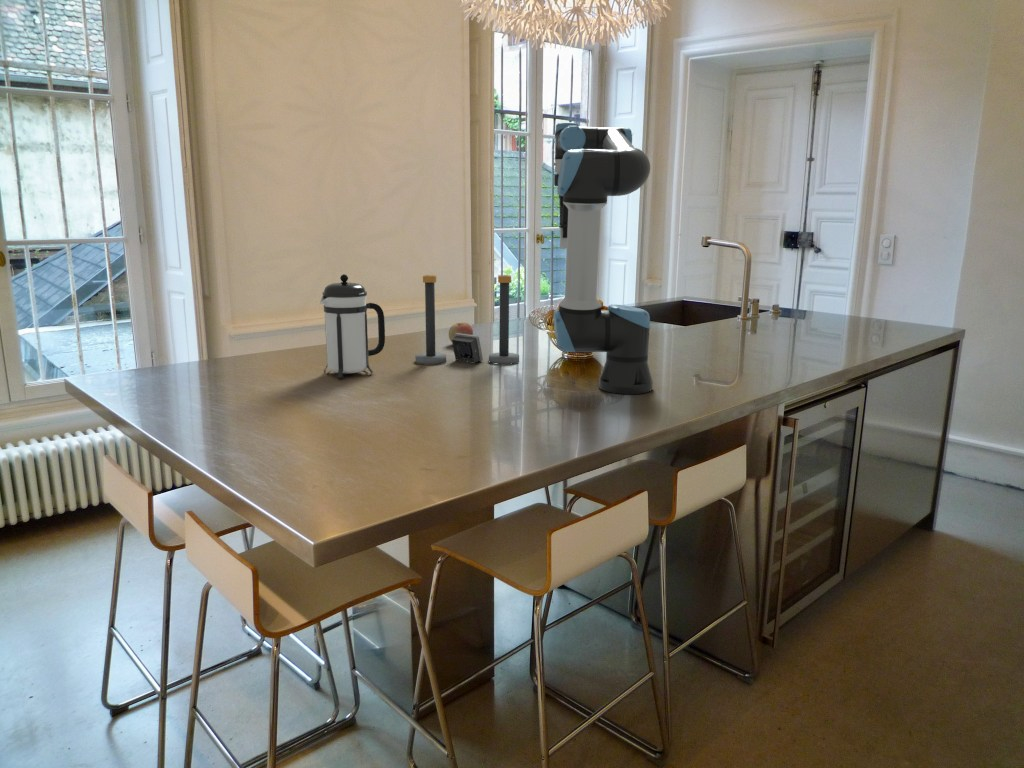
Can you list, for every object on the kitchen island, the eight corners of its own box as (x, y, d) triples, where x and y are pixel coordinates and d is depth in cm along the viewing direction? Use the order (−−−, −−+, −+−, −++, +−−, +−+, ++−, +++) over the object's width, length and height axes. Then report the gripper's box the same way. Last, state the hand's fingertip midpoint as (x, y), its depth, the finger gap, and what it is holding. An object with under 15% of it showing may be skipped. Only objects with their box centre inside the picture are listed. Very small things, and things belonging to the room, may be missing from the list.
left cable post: (445, 364, 243) (444, 277, 237) (414, 364, 243) (412, 277, 236) (446, 358, 253) (445, 274, 246) (416, 358, 253) (414, 273, 246)
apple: (474, 343, 280) (474, 321, 278) (470, 347, 271) (470, 325, 270) (451, 342, 281) (450, 321, 279) (446, 347, 272) (446, 325, 270)
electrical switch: (483, 362, 249) (481, 334, 246) (474, 366, 244) (472, 338, 242) (460, 358, 253) (458, 331, 251) (451, 362, 249) (449, 335, 246)
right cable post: (520, 364, 245) (521, 277, 238) (489, 364, 244) (489, 277, 238) (518, 358, 254) (519, 274, 248) (488, 358, 254) (488, 274, 247)
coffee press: (365, 381, 220) (361, 277, 213) (314, 378, 223) (308, 276, 216) (386, 368, 237) (383, 272, 230) (338, 366, 240) (334, 270, 233)
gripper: (552, 174, 250) (550, 246, 255) (556, 172, 237) (554, 249, 243) (575, 174, 250) (572, 246, 256) (580, 173, 237) (578, 249, 243)
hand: (564, 248), depth 249 cm, fingers closed
